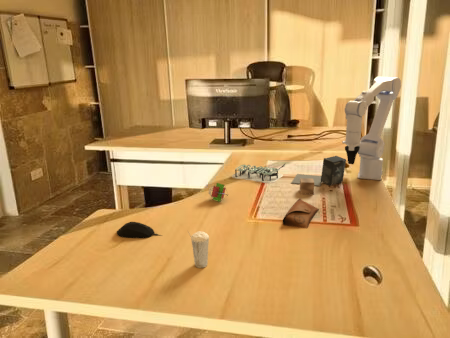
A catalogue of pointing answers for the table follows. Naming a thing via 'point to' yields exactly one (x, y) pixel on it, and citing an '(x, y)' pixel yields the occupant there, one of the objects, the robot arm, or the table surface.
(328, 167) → the box
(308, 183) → the walnut block
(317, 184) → the mat
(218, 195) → the geometric puzzle
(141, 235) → the gaming mouse
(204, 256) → the milkshake
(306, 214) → the sunglasses case
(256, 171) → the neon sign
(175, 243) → the table surface
